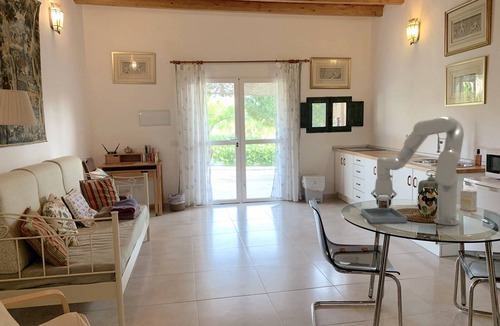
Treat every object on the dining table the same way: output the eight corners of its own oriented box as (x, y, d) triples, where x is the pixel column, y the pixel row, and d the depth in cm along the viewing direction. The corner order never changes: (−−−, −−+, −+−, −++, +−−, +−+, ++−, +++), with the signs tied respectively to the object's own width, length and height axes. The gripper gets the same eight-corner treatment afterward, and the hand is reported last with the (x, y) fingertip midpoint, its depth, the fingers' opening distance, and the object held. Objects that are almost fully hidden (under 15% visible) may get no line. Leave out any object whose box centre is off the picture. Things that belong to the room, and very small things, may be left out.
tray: (407, 223, 203) (407, 217, 203) (371, 223, 205) (371, 217, 204) (392, 213, 227) (392, 208, 227) (361, 214, 228) (361, 208, 228)
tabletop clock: (438, 204, 247) (438, 169, 245) (445, 207, 238) (446, 170, 236) (417, 205, 248) (418, 169, 245) (424, 208, 238) (424, 171, 236)
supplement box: (477, 211, 225) (477, 190, 224) (471, 212, 223) (472, 191, 222) (464, 208, 233) (465, 189, 232) (459, 209, 231) (460, 189, 230)
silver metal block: (388, 209, 216) (388, 199, 215) (378, 209, 218) (378, 199, 218) (389, 205, 227) (389, 196, 226) (379, 205, 229) (379, 196, 229)
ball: (388, 202, 222) (384, 201, 221) (386, 207, 223) (381, 206, 222) (385, 199, 225) (381, 198, 224) (383, 204, 226) (378, 203, 225)
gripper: (398, 176, 221) (398, 204, 223) (369, 176, 228) (369, 203, 230) (398, 178, 214) (398, 207, 216) (368, 177, 221) (368, 206, 223)
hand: (383, 205), depth 223 cm, fingers closed on silver metal block, 6 cm apart
